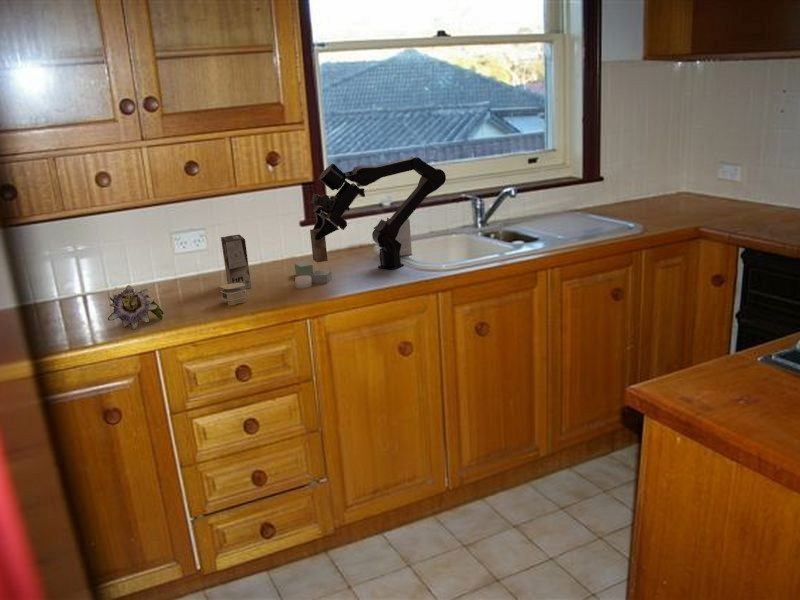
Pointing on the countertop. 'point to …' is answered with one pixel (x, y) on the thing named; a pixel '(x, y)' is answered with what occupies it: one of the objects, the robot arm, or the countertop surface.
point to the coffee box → (236, 260)
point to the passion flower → (133, 307)
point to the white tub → (303, 281)
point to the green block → (303, 268)
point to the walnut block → (318, 247)
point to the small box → (404, 238)
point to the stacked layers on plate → (234, 293)
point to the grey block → (322, 277)
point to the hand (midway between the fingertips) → (313, 238)
